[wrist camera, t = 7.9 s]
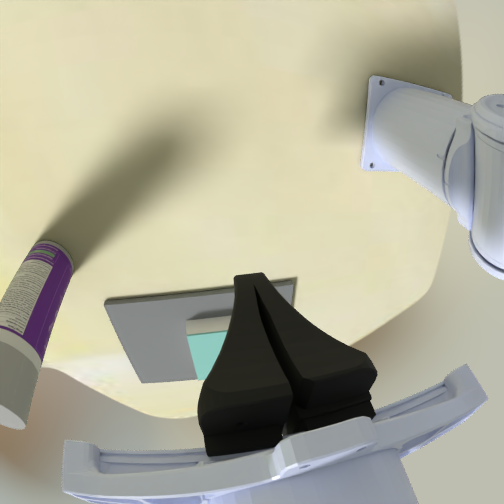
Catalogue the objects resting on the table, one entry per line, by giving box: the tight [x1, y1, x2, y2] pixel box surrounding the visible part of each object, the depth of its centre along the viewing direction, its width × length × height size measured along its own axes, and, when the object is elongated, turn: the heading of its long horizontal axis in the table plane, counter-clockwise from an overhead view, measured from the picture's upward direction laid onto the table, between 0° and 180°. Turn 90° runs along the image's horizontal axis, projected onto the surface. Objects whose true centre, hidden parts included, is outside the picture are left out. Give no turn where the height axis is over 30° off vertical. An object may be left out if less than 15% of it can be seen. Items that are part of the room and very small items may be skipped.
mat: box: [104, 281, 294, 383], centre depth 31 cm, size 18×14×1 cm
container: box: [0, 241, 74, 429], centre depth 16 cm, size 5×5×15 cm
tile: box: [186, 316, 231, 380], centre depth 30 cm, size 2×8×6 cm
